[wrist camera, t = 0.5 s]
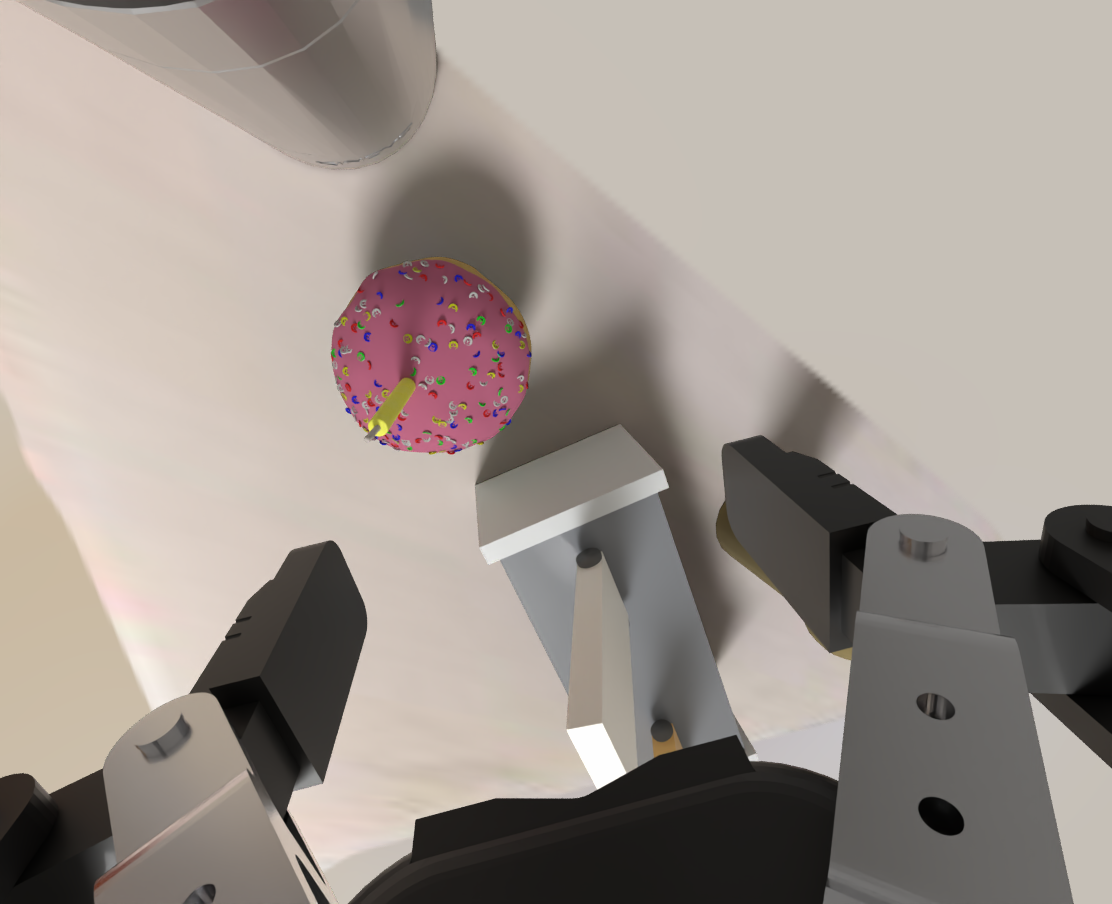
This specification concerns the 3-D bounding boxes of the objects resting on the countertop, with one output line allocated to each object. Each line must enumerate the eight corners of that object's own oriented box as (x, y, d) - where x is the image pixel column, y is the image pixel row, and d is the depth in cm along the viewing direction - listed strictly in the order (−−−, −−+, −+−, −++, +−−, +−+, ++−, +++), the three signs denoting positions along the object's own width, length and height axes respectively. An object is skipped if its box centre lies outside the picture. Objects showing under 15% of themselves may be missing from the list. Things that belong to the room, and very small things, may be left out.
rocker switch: (576, 551, 25) (563, 725, 17) (600, 545, 25) (600, 718, 17) (606, 620, 27) (608, 809, 19) (629, 615, 27) (641, 804, 18)
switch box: (475, 485, 31) (479, 547, 24) (620, 423, 31) (662, 469, 24) (595, 728, 39) (622, 824, 32) (709, 678, 39) (760, 763, 32)
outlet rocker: (649, 721, 30) (668, 924, 22) (670, 717, 30) (697, 921, 21) (671, 771, 32) (696, 977, 23) (691, 768, 31) (723, 975, 23)
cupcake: (416, 452, 29) (391, 573, 18) (313, 316, 26) (206, 361, 15) (550, 369, 29) (607, 441, 18) (462, 221, 26) (465, 197, 15)
